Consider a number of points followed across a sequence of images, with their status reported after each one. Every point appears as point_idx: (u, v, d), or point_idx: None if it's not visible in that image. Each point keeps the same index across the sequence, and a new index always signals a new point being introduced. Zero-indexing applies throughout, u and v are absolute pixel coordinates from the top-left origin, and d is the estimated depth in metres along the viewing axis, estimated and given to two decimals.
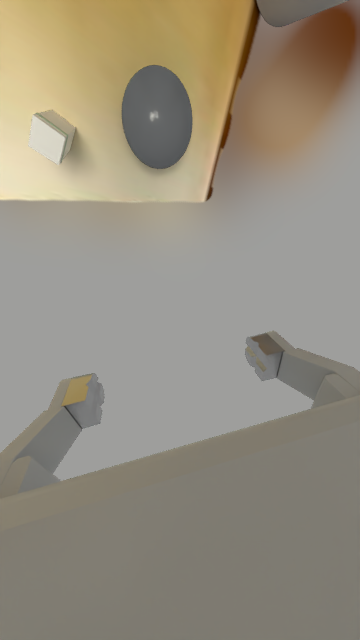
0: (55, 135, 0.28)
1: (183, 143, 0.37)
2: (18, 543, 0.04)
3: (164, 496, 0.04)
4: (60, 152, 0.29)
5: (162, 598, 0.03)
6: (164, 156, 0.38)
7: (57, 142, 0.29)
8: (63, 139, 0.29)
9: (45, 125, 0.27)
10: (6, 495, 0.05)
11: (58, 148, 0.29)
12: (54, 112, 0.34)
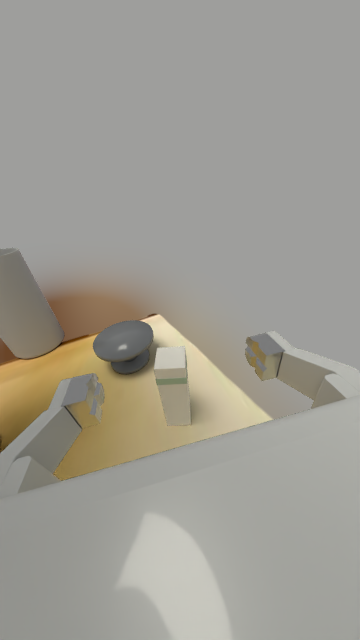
0: (160, 353, 0.26)
1: (126, 322, 0.46)
2: (18, 543, 0.04)
3: (164, 496, 0.04)
4: (172, 347, 0.27)
5: (162, 598, 0.03)
6: (140, 327, 0.44)
7: (164, 351, 0.26)
8: (159, 348, 0.27)
9: (156, 360, 0.25)
10: (6, 495, 0.05)
11: (169, 349, 0.26)
12: None
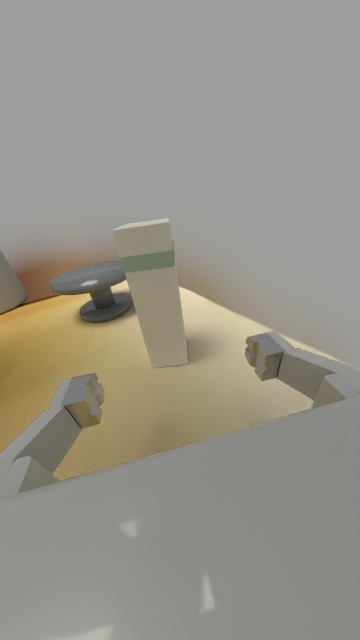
0: (127, 225, 0.16)
1: (99, 263, 0.35)
2: (18, 543, 0.04)
3: (164, 496, 0.04)
4: (148, 221, 0.16)
5: (163, 598, 0.03)
6: (117, 264, 0.34)
7: (136, 223, 0.16)
8: (128, 224, 0.16)
9: (120, 227, 0.14)
10: (6, 495, 0.05)
11: (143, 222, 0.16)
12: None
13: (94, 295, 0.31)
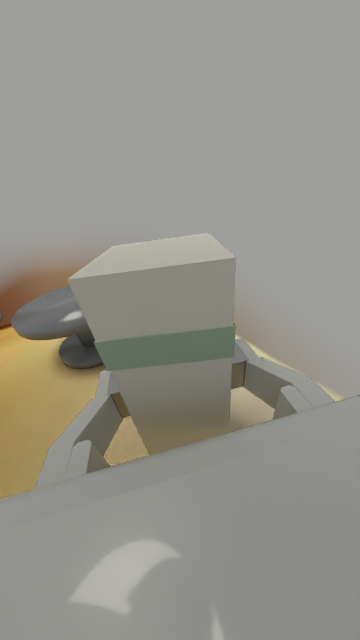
0: (118, 250, 0.07)
1: None
2: (18, 543, 0.04)
3: (164, 496, 0.04)
4: (164, 239, 0.08)
5: (162, 598, 0.03)
6: None
7: (137, 245, 0.07)
8: (119, 245, 0.08)
9: (97, 261, 0.06)
10: (75, 475, 0.05)
11: (153, 242, 0.07)
12: None
13: None
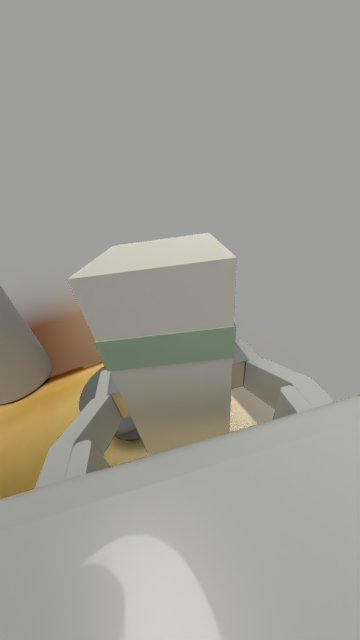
0: (118, 250, 0.07)
1: None
2: (18, 543, 0.04)
3: (164, 496, 0.04)
4: (164, 239, 0.08)
5: (162, 598, 0.03)
6: None
7: (138, 245, 0.07)
8: (119, 245, 0.08)
9: (97, 261, 0.06)
10: (75, 475, 0.05)
11: (153, 242, 0.07)
12: None
13: None
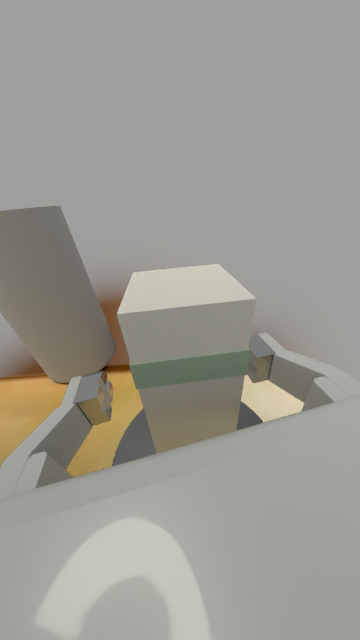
0: (142, 279, 0.08)
1: None
2: (18, 543, 0.04)
3: (164, 496, 0.04)
4: (179, 268, 0.09)
5: (162, 598, 0.03)
6: None
7: (158, 274, 0.08)
8: (139, 272, 0.08)
9: (130, 292, 0.07)
10: (24, 490, 0.05)
11: (171, 271, 0.08)
12: None
13: None
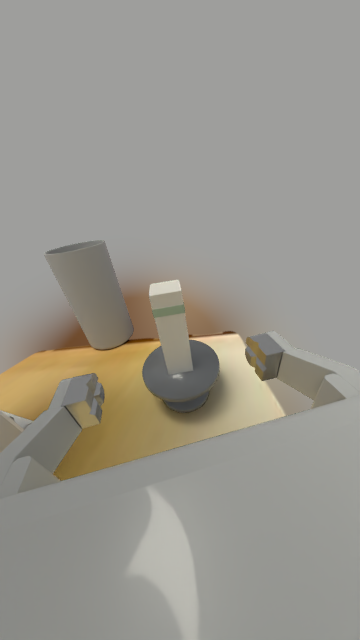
0: (153, 286, 0.25)
1: (190, 342, 0.36)
2: (18, 543, 0.04)
3: (164, 496, 0.04)
4: (165, 282, 0.26)
5: (162, 598, 0.03)
6: (204, 354, 0.33)
7: (158, 284, 0.25)
8: (152, 284, 0.26)
9: (151, 291, 0.24)
10: (6, 495, 0.05)
11: (162, 283, 0.26)
12: None
13: None
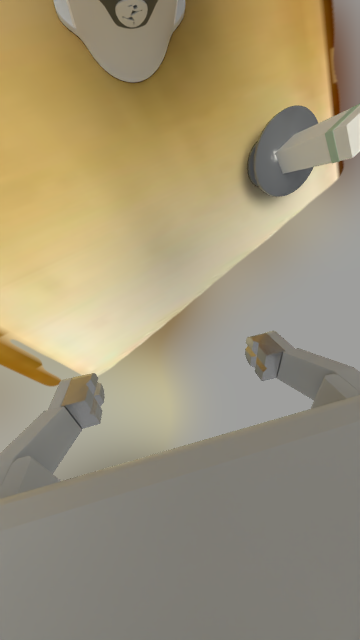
0: None
1: None
2: (18, 543, 0.04)
3: (164, 496, 0.04)
4: None
5: (162, 598, 0.03)
6: (300, 173, 0.37)
7: None
8: None
9: (358, 116, 0.23)
10: (6, 495, 0.05)
11: None
12: (281, 149, 0.34)
13: None
